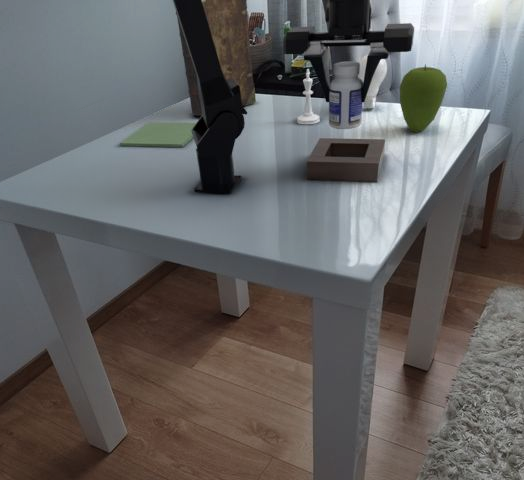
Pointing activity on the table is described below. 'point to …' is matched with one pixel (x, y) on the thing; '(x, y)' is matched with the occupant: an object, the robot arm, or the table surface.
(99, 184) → the table surface
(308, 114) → the chess piece
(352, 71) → the pill bottle
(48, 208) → the table surface
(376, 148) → the holder
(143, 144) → the mat
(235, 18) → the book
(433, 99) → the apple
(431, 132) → the table surface
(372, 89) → the lightbulb
